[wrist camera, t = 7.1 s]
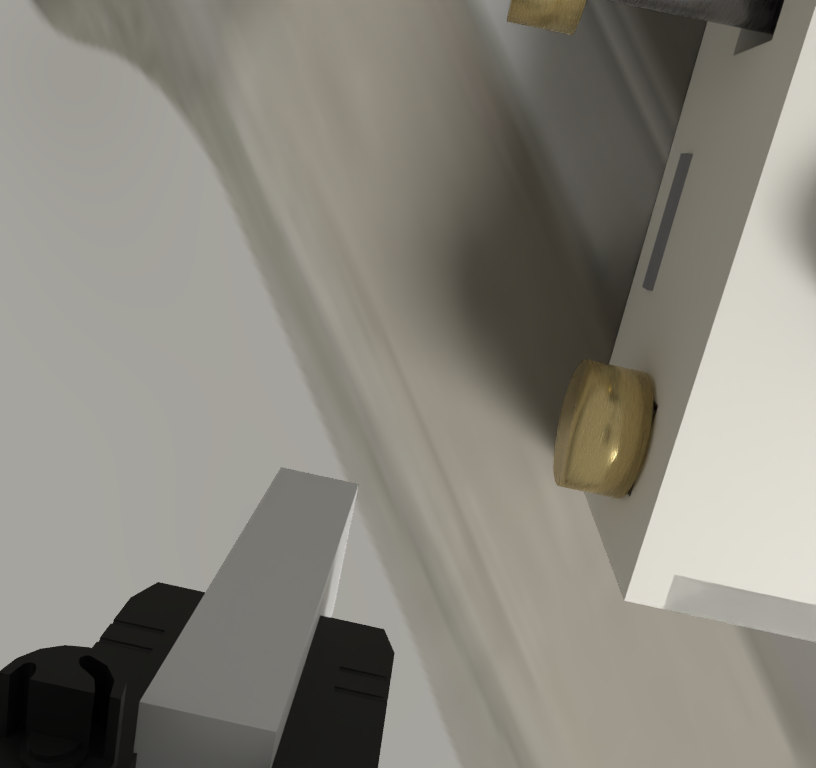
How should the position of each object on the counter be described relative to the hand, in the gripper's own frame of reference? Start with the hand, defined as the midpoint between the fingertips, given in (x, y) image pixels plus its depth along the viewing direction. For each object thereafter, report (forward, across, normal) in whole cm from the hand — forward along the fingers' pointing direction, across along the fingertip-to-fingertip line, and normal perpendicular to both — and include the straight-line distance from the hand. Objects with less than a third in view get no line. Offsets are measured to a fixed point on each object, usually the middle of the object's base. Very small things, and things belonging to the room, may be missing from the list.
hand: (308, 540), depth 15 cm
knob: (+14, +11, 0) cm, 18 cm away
